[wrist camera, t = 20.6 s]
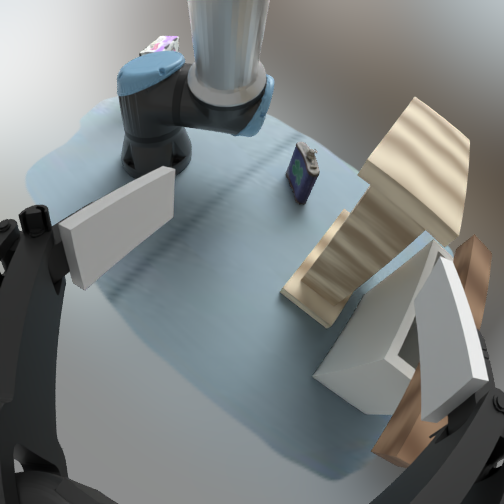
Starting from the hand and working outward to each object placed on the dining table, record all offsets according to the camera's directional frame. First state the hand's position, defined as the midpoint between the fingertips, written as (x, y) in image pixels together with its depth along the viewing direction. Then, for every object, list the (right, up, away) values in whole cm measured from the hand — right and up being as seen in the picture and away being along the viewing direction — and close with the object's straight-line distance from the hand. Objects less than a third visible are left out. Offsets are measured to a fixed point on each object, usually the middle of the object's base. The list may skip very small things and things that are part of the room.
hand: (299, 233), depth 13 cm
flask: (+7, +12, +46) cm, 48 cm away
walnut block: (+19, -11, +12) cm, 25 cm away
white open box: (+17, -18, +31) cm, 40 cm away
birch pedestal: (+13, -3, +38) cm, 41 cm away
